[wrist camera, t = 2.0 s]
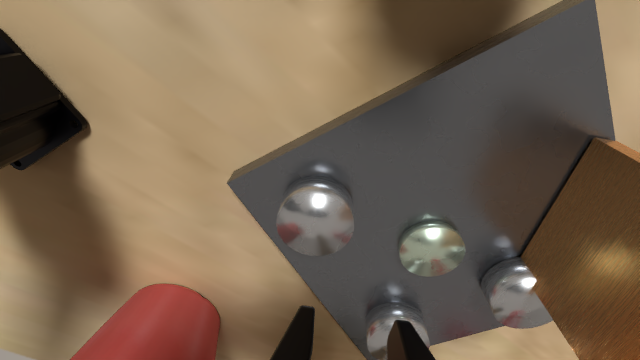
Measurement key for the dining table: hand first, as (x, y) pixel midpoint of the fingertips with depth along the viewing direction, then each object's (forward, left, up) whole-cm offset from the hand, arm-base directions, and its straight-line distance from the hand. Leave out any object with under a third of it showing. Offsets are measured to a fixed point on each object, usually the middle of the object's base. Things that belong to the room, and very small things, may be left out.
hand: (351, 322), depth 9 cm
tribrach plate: (+3, -8, -12) cm, 15 cm away
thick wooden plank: (+9, -10, -10) cm, 17 cm away
